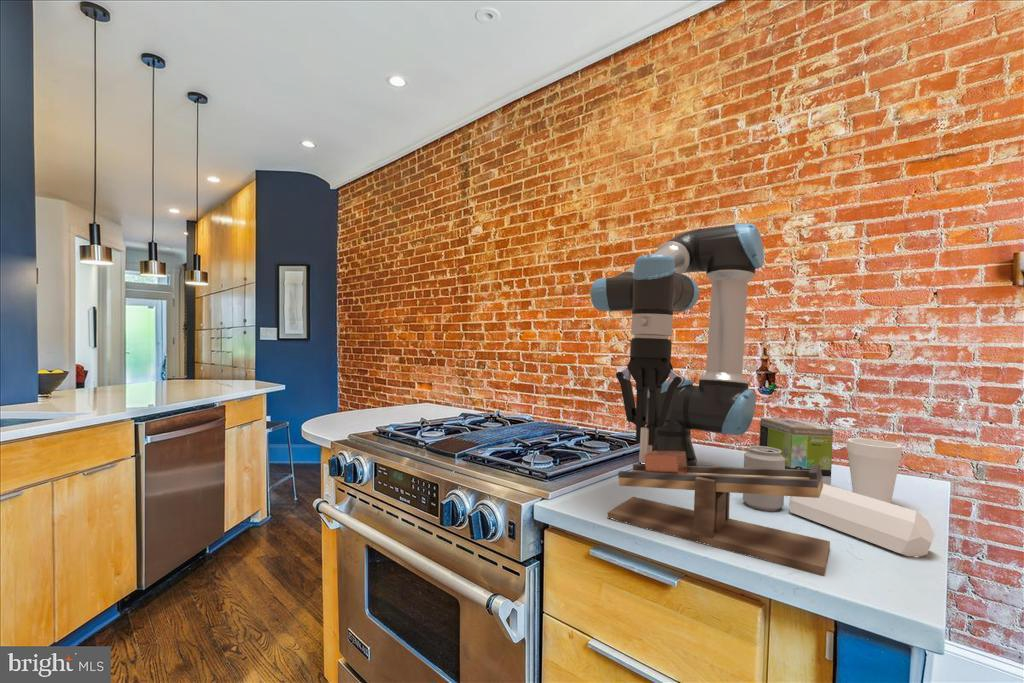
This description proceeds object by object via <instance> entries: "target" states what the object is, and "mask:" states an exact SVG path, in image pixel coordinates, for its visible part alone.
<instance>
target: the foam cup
mask: <svg viewBox="0 0 1024 683" xmlns="http://www.w3.org/2000/svg"><path fill="white" fill-rule="evenodd" d="M846 451H847V457H848V463H849V464H848V465H849V471H850V472H849V474H850V480H851V488H852V489H851V490H852V492H853V493H857V494H860V495H863V496H867V497H870V498H874V499H877V500H880V501H884V502H887V503H891V504H892V501H893V495H894V491H895V486H896V481H897V476H898V472H899V471H898V469H899V466H900V465H899V464H900V461H901V459H902V454H903V446H902V445H901V444H898V443H896V442H892V441H891V442H890V441H886V440H881V439H880V440H879V439H874V438H873V439H870V438H861V437H860V438H859V437H858V438H856V437H855V438H848V439H846Z"/></svg>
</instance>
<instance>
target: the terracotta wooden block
mask: <svg viewBox="0 0 1024 683" xmlns="http://www.w3.org/2000/svg"><path fill="white" fill-rule="evenodd" d="M644 458H645V467H646V472H654V473H678V474H687V473H688V470H687V461H686V452H685V451H652V452H650V453H648V454H646V455H644Z"/></svg>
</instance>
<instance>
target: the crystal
mask: <svg viewBox="0 0 1024 683" xmlns="http://www.w3.org/2000/svg"><path fill="white" fill-rule="evenodd" d="M788 507H789V513H791V514H794V515H797V516H800V517H802V518H805V519H806V520H810V521H813V522H816V523H818V524H821V525H824V526H827V527H829V528H831V529H834V530H836V531H839V532H842V533H844V534H847V535H850V536H853V537H855V538H857V539H861V540H863V541H866V542H869V543H871V544H875V545H876V546H879V547H882V548H885V549H887V550H890V551H893V552H895V553H898V554H901V555H902V556H906V557H909V556H922V557H925V556H924V555H926V556H928V553H929V550H930V549H931V546H932V543H933V540H934V537H935V532H934V531H933V528H932V526H931V524H930V522H929V520H928V519H927V518H925V517H924V516H923V515H922V514H921V513H919V512H918V511H916V510H914V509H910V508H907V507H903V506H901V505H897V504H893V503H892V502H891V503H887V502H884V501H880V500H877V499H874V498H870V497H867V496H863V495H860V494H857V493H853V491H849V490H846V489H844V488H839V487H836V486H832V485H831V486H830V485H826V484H823V488H822V491H821V494H820V497H819V498H811V497H795V496H789V502H788Z"/></svg>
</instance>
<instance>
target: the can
mask: <svg viewBox="0 0 1024 683" xmlns="http://www.w3.org/2000/svg"><path fill="white" fill-rule="evenodd" d="M747 449H748V450H747V451H746V452H745V453H744V454H743V468H766V469H785V458H784V457H783V456H782V455H781V452H782V451H781V450H779V449H776V448H772V447H765V446H760V445H750V446H747ZM742 500H743V501H744V502H745V504H746V505H747V506H748V507H750V508H753V509H756V510H761V511H764V512H766V511H767V512H775V511H776V512H777V511H779V510H780V509H781V508H783V507H784V505H785V504H784V503H785V496H779V495H763V494H747V493H742Z"/></svg>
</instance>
